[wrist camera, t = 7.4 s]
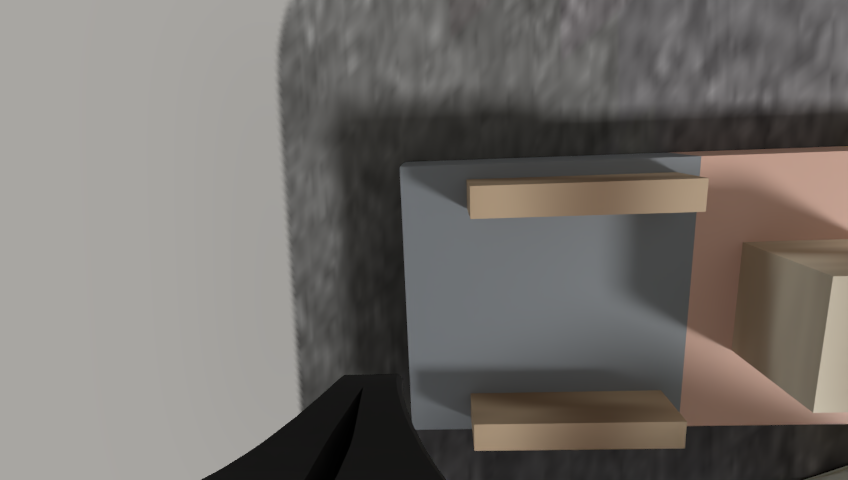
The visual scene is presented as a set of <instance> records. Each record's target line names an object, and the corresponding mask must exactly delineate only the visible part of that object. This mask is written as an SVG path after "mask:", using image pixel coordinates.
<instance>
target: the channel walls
mask: <svg viewBox="0 0 848 480" xmlns="http://www.w3.org/2000/svg"><path fill="white" fill-rule="evenodd" d="M708 181H709V178H705V177H700V176H695V175H689V174H684V173H679V172H668V173H639V174H609V175H580V176H551V177H522V178H493V179H466V182H467V210H468V213H469V216H470V219H488V218H521V217H553V216H585V215H618V214H650V213H682V212H706V204H707V192H708ZM470 395H471V423H472V433H473V442H474V451H512V450H598V449H684V448H685V440H686V429H687V421H686V420H685V419H684V417H683V416H682V415H681V414H680V413H679V411H678V410H677V409H676V408H675V407H674V405H673V404H672V403H671V402H670V401H669V399H668V398H667V397H666V396H665V395H664V393H663V392H662V391H661V390H647V391H586V392H525V393H470Z"/></svg>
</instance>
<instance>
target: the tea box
mask: <svg viewBox="0 0 848 480" xmlns="http://www.w3.org/2000/svg"><path fill="white" fill-rule="evenodd" d="M805 480H848V466H845V467H842V468H839V469H836V470H833V471H830V472H827V473H824V474H821V475H817V476H814V477H811V478H808V479H805Z"/></svg>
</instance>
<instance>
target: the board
mask: <svg viewBox="0 0 848 480" xmlns="http://www.w3.org/2000/svg"><path fill="white" fill-rule="evenodd" d="M668 172H679V173H684V174H689V175H695V176H700V177H705V178H709V181H708V192H707V204H706V212H682V213H650V214H618V215H585V216H553V217H521V218H488V219H470V216H469V213H468V210H467V182H466V179H493V178H522V177H551V176H580V175H609V174H639V173H668ZM400 186H401V207H402V228H403V248H404V269H405V290H406V311H407V332H408V352H409V373H410V394H411V415H412V423H413V426H414V428H415V430H439V429H472V423H471V395H470V393H525V392H586V391H647V390H661V391H662V392H663V393H664V395H665V396H666V397H667V398H668V399H669V401H670V402H671V403H672V404H673V405H674V407H675V408H676V409H677V410H678V411H679V413H680V414H681V415H682V416H683V417H684V419H685V420H686V421H687V426H737V425H811V424H848V412H836V413H813V412H811V411H810V410H809V409H807V408H806V407H805V406H803V405H802V404H801V403H800V402H798V401H797V400H796V399H794V398H793V397H792V396H790V395H789V394H788V393H786V392H785V391H784V390H783V389H781V388H780V387H779V386H777V385H776V384H775V383H773V382H772V381H771V380H770V379H768V378H767V377H766V376H764V375H763V374H762V373H760V372H759V371H758V370H756V369H755V368H754V367H753V366H751V365H750V364H749V363H747V362H746V361H745V360H743V359H742V358H741V357H740V356H738V355H737V354H736V353H734V352H733V351H732V342H733V332H734V323H735V313H736V303H737V294H738V284H739V274H740V265H741V255H742V246H743V242H765V241H797V240H829V239H848V146H834V147H807V148H779V149H751V150H723V151H695V152H667V153H639V154H611V155H583V156H556V157H528V158H500V159H472V160H444V161H416V162H404V163H403V164H402V165H401V166H400Z"/></svg>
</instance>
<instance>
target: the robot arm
mask: <svg viewBox="0 0 848 480" xmlns="http://www.w3.org/2000/svg"><path fill="white" fill-rule="evenodd" d="M202 480H446V479H445V478H444V476H443V475H442V474H441V472H440V471H439V470H438V468H437V467H436V465H435V464H434V462H433V461H432V459H431V458H430V456H429V454H428V453H427V451H426V449H425V448H424V446H423V444H422V442H421V440H420V438H419V436H418V434H417V432H416V430H415V428H414V426H413V423H412V421H411V418H410V416H409V413H408V411H407V408H406V405H405V401H404V388H403V378H402V377H400V376H399V375H398V374H374V375H344V376H343V377H341V378H340V379H339V380H338V381H337V382H335V383H334V384H333V385H332V386H331V387H330V388H329V389H328V390H327V391H325V392H324V393H323V394H322V395H321V396H320V397H319V398H318V399H316V400H315V401H314V402H313V403H312V404H311V405H309V406H308V407H307V408H306V409H305V410H304V411H302V412H301V413H300V414H299V415H298V416H297V417H295V418H294V419H293V420H291V421H290V422H289V423H287V424H286V425H285V426H284V427H282V428H281V429H280V430H278V431H277V432H276V433H274V434H273V435H272V436H271V437H269V438H268V439H267V440H265V441H264V442H263V443H261V444H260V445H258V446H257V447H256V448H254V449H252V450H251V451H249V452H248V453H246V454H245V455H244V456H242V457H240V458H238V459H237V460H235V461H234V462H232V463H230V464H229V465H227V466H226V467H224V468H222V469H220V470H219V471H217V472H215V473H213V474H211V475H209V476H207V477H205V478H204V479H202Z"/></svg>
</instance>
